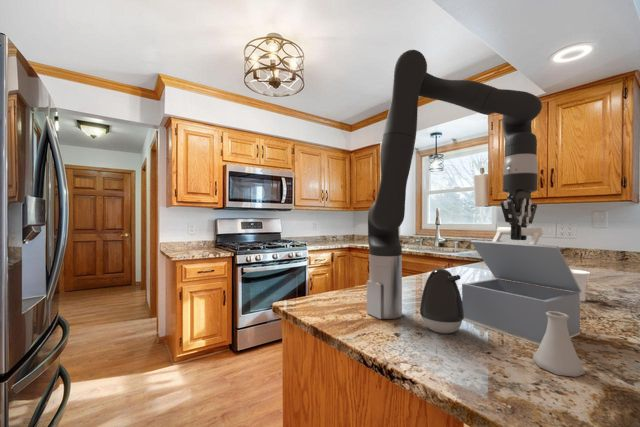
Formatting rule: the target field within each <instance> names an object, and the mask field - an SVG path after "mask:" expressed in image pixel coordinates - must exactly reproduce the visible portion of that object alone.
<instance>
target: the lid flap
mask: <svg viewBox="0 0 640 427" xmlns="http://www.w3.org/2000/svg"><path fill="white" fill-rule="evenodd" d="M543 234H544V231H543V229H542V227H527V228H521V235H525V236H527V237H528V236H529V237H530V236H531V237H532V238H531V239H530V241H529V243H520V242H504V241H503V242H502V241H500V240H501V238H502V236H503V235H504V236H505V235H506V236H511V226H510V227H508V226H498V227H497V228H496V233H495V235H494V237H493V238H492V241H491V240H488V241H487V240H476V239H475V240H474V239H472V240H470V243H471V244H472V246H473V248H475V250H476V251H477V253H478V254H479V256H480V258H481V259H482V260H483V262H484V264H485V265H486V267H487V268H488V269H489V270H490V272H491V274H492V275H493V277H494V279H495V278H496V279H502V280H508V281H514V282H519V283H525V284H531V285H537V286H542V287H548V288H554V289H559V290H567V291H573V292H579V293H581V289H580V287H579V285H578V283H577V281H576V279H575V277H574V276H573V274H572V272H571V270H570V269H571V268H570V266H569V264H568V263H567V260H566V259H565V257H564V255H563V253H562V251H561V249H560V248H559V245H549V244H538V242H539V240H540V238H541V237H542V236H543Z"/></svg>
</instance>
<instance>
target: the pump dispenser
mask: <svg viewBox="0 0 640 427" xmlns="http://www.w3.org/2000/svg"><path fill="white" fill-rule="evenodd" d="M460 279H461V276H460V275H459V274H456V275H452V273H451V272H450V271H449V270H448V269H445V268H436V269H433V270H432V271H431V272H430V274H429V275H428V277H427V279H426V281H425V284H424V287H423V290H422V293H421V297H420V304H419V315H420V316H421V320H422V322H423V324H424V326H425V327H426V328H428V329H429V330H430V331H433V332H435V333H439V334H446V335H447V334H452V333H455V332H456V331H458V329H460V327H461V325H462V323H463V321H464V320H463V319H464V310H463V304H462V294H461V292H460V288H459V287H458V283H457V282H456V281H458V280H460Z"/></svg>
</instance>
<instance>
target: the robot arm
mask: <svg viewBox="0 0 640 427" xmlns="http://www.w3.org/2000/svg"><path fill="white" fill-rule="evenodd" d="M427 71H428V64H427V60H426V57H425V55H424V54H423V53H422V52H421V51H419V50H416V49H409V50H406V51H404V52H402V54H400V55H399V56H398V57H397V59H396V61H395V63H394V65H393V70H392V72H393V77H392V78H393V79H392V80H393V81H392V91H391V92H392V93H391V101H390V104H389V109H388V111H387V112H388V113H387V117H386V121H385V124H384V130H383V134H382V140H381V146H380V157H379V158H380V159H379V160H380V183H379V187H378V192H377V196H376V199H375V202H373V204H371V206H370V207H369V209H368V213H367V242H368V249H369V250H368V251H369V253H368V256H369V258H368V259H369V266H368V268H369V272H368V274H369V277H368V280H366V314H368V315H370V316H373V317H374V318H377V319H379V320H384V319H387V320H388V319H389V320H391V319H392V320H394V319H398V318H401V317H402V316H403V281H402V280H403V263H402V262H403V259H402V258H403V254H402V252H403V251H402V250H403V248H402V243H401V241H400V235H399V234H400V232H399V231H400V230H399V229H400V226H401V225H402V224H403V222H404V219H405V212H406V197H407V196H406V195H407V192H406V191H407V184H408V179H409V175H410V171H411V166H412V160H413V156H414V150H415V144H416V140H417V131H418V130H417V129H418V107H419V97H423V98H427V99H432V100H436V101H442V102H444V103H448V104H450V105H452V104H453V105H455V106H459V107H461V108H463V109H467V110H470V111H473V112H475V113H479V114H481V115H486V116H489V115H493V114H498V115H502V120H501V121H502V132H503V138H504V160H503V164H502V166H503V167H502V168H503V170H502V171H503V172H502V191H503V193H507V196H506V200H501V201H500V208H501V211H502V213H503V218H504V221H505V223H508V224H509V225H510V227H511V235H510V239H511V240H512V241H526V240H527V237H528V236H525V235H521V228H528V226H529V225H530V224H533V222H534V218H535V215H536V211H537V209H538V204H537V203H533V202H532V194H531V193H535V192H537V191H538V180H539V179H538V177H539V176H538V175H539V173H538V170H539V169H538V168H539V165H538V164H539V162H538V156H537V154H538V152H537V150H538V139H537V136H536V134H534V133H533V131H532V129H533V128H532V122H533V120H534V119H536V118H537V117H538V115H539V114H541V111H542V109H543V103H542V100H541V99H540V98H539V97H538V96H536V95H535V94H532V92H529V91H522V90H514V89H503V88H502V89H501V88H498V87H495V86H493V85H492V86H491V85H490V84H489V85H488V84H486V83H482V82H480V81H475V80H469V79H468V80H466V79H455V80H454V79H447V78H446V79H445V78H440V77H437V76H434V75H432V74H430V73H429V72H427Z"/></svg>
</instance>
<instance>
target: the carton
mask: <svg viewBox="0 0 640 427" xmlns="http://www.w3.org/2000/svg"><path fill="white" fill-rule="evenodd" d="M461 299H462V304H463V310H464V319H463V320H462V321H464V322H467V323H470V324H473V323H474V325H477V326H479V327H483V328H485V329H489V330H492V331H494V332H498V333H501V334H504V335H507V336H510V337H512V338H516V339H519V340H522V341H525V342H529V343H531V344H534V345H536V346H540V344H541V341H542V339H543V337H544V335H545V333H546V329H547V324H548V316H547V315H546V312H549V311H553V312H560V313H564V314H566V315H568V316H569V319H567V328H568V332H569V337H570V339H571V338H574V337H577V336H579V335H580V334H581V314H580V313H581V301H580V293H577V292H571V291H565V290H562V289H556V288H550V287H544V286H538V285H533V284H527V283H521V282H515V281H510V280H504V279H498V278H495V277H494V278H490V279H485V280H478V281H477V280H476V281H473V282H466V283H462V284H461Z"/></svg>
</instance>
